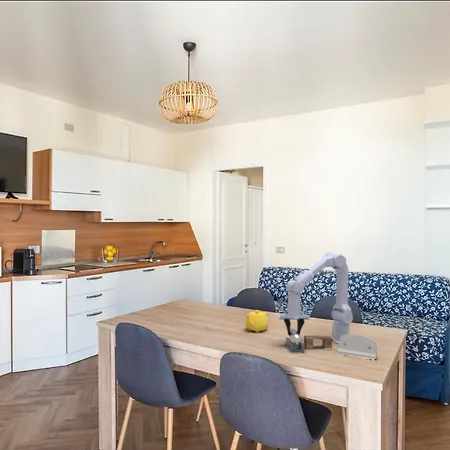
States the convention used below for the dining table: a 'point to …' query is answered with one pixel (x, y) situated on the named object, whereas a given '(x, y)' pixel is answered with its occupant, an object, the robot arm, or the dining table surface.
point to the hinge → (357, 346)
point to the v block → (293, 347)
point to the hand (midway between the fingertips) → (293, 334)
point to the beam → (309, 339)
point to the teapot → (257, 321)
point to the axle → (295, 337)
